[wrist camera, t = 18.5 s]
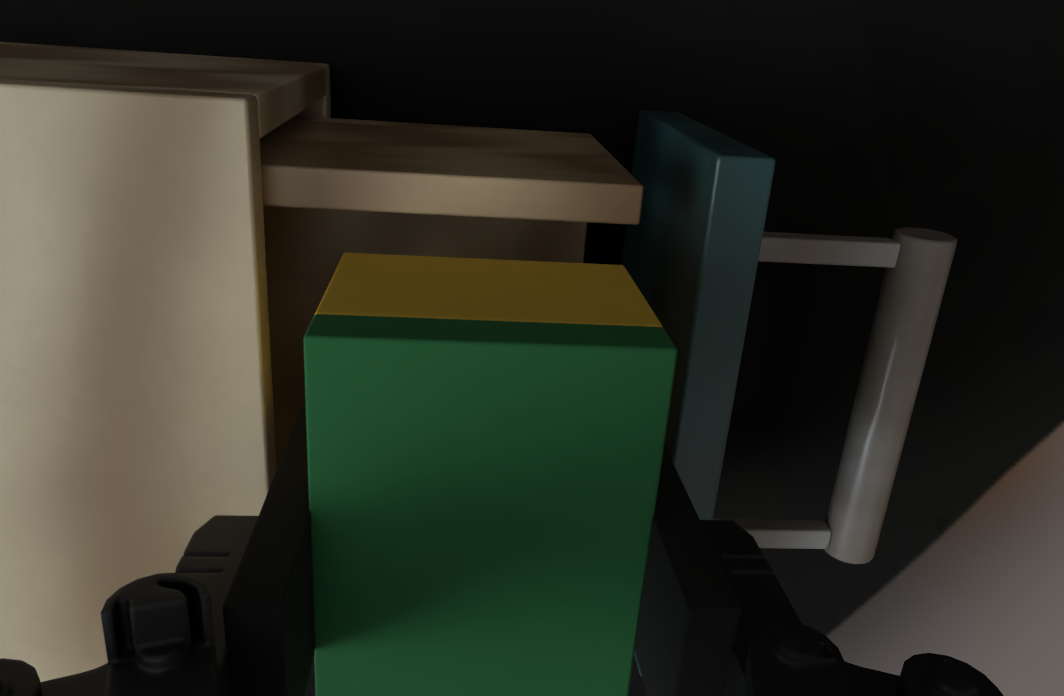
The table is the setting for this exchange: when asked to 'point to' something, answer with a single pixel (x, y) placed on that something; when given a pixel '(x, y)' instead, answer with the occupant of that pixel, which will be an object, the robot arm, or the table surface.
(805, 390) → the table surface
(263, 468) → the cabinet
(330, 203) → the drawer
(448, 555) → the sponge
